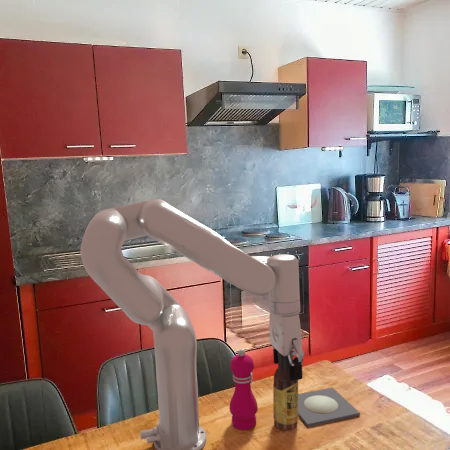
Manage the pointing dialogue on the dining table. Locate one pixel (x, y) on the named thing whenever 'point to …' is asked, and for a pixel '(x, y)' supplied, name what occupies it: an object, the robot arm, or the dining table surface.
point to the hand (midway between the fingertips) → (287, 370)
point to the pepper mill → (243, 392)
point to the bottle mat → (324, 407)
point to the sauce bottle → (285, 396)
